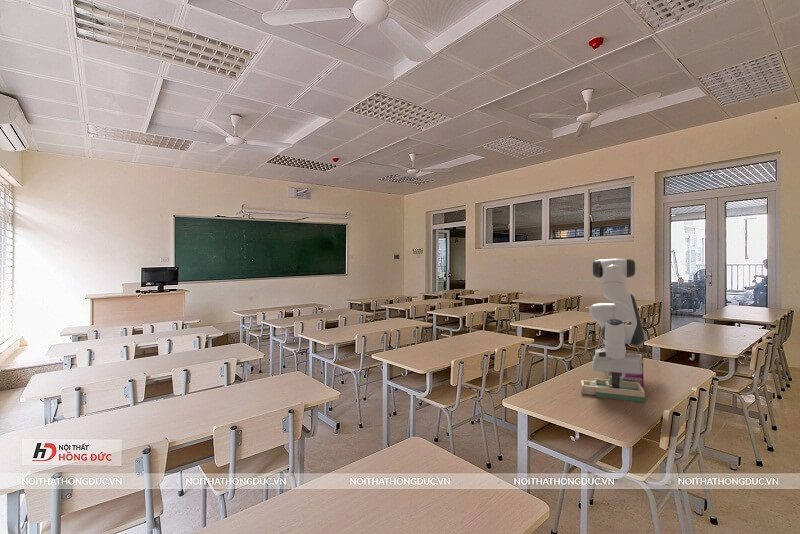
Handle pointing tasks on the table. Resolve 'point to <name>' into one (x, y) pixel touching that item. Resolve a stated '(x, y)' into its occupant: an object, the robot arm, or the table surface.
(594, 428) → the table surface
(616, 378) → the rod
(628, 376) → the candy bar box
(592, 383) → the ball
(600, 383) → the pitch
